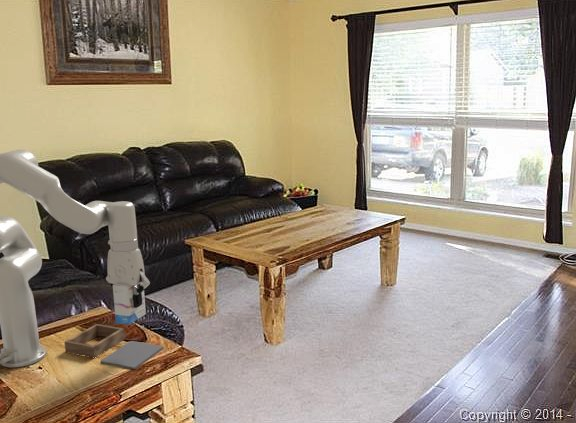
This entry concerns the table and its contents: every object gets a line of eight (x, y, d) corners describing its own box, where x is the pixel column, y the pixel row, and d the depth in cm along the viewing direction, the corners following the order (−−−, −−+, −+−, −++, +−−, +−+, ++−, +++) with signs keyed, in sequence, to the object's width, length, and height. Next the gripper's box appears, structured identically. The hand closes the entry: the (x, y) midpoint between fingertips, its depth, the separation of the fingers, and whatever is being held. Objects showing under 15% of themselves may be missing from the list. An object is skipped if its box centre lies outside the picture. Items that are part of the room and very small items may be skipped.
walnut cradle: (94, 358, 164) (93, 347, 163) (65, 352, 168) (64, 341, 167) (125, 338, 176) (124, 328, 176) (97, 333, 180) (96, 323, 180)
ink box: (130, 325, 158) (126, 286, 156) (115, 323, 160) (111, 284, 158) (147, 314, 166) (143, 276, 164) (132, 312, 168) (129, 275, 165)
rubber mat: (134, 369, 157) (134, 367, 156) (100, 362, 161) (100, 360, 161) (163, 348, 169) (163, 346, 169) (131, 342, 174) (131, 340, 174)
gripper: (91, 246, 158) (97, 306, 162) (140, 251, 152) (146, 313, 156) (109, 239, 165) (114, 297, 169) (157, 244, 159) (162, 304, 162)
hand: (129, 304), depth 162 cm, fingers closed on ink box, 5 cm apart
